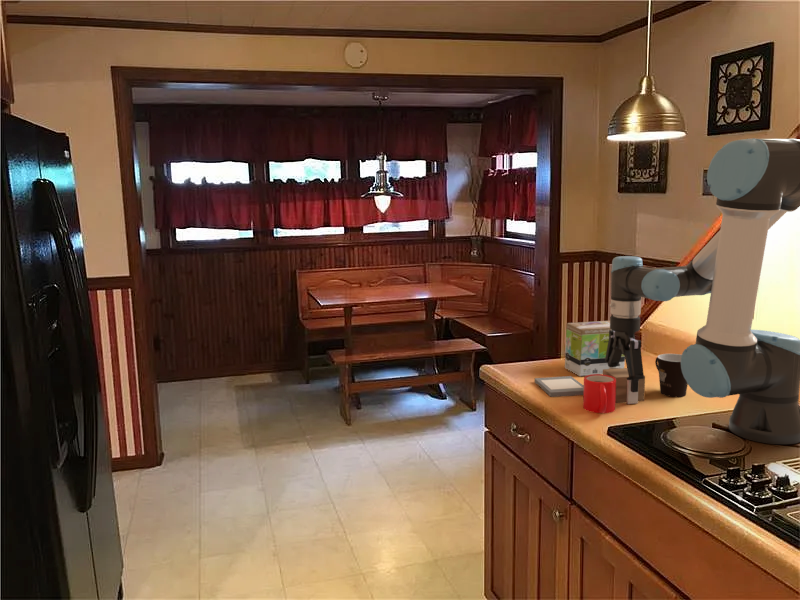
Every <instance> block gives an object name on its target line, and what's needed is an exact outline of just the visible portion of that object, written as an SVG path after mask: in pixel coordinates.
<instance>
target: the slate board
mask: <svg viewBox="0 0 800 600" xmlns="http://www.w3.org/2000/svg"><path fill="white" fill-rule="evenodd" d="M534 383H535V384H536V385H537V384H538V385H539V386H540V387H541V388H540V387H539V386H538V385H537V386H538V387H539V388H540V389H541V390H542V391H544V392H545V393H546V394H547V395H548V396H549V397H553V398H554V397H567V396H568V397H570V396H583V392H584V384H582V383H581V382H580V381H579V380H577V379H576V378H574V377H573V376H571V375H569V376H568V375H567V376H552V377H550V376H548V377H535V378H534Z"/></svg>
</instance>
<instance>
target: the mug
mask: <svg viewBox="0 0 800 600" xmlns="http://www.w3.org/2000/svg"><path fill="white" fill-rule="evenodd" d="M583 385H584V392H583V395H582V396H583V399H582V400H583V401H582V402H583V404H582V405H583V406H582V407H583V409H584V410H585V411H587V412H590V413H597V414H609V413H614V412H615V411H616V404H617V403H616V379H615V378H614V377H612V376H609V375H603V374H592V375H585V376H584V377H583Z"/></svg>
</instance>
